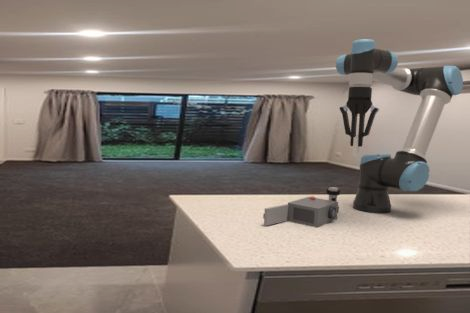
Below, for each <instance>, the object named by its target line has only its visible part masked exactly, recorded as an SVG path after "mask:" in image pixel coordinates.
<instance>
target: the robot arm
mask: <svg viewBox="0 0 470 313" xmlns="http://www.w3.org/2000/svg"><path fill="white" fill-rule="evenodd" d="M398 64H399V57H398V55H397V54H396V53H394V52H392V51H390V50H387V49H381V48H380V49H379V48H376V41H375V40H374V39H371V38H369V39H367V38H363V39H362V38H361V39H360V38H359V39H357V40H353V42H352V44H351V51H350V53H346V54H343V55H342V54H341V55H340V56H339V57H338V58H337V59H336V62H335V69H336V72H337V73H338V74H339V75H343V76H348V75H349V79H348V80H349V81H348V85H349V86H350V87H349V88H348V95H347V96H348V97H347V101H346V104H345V105H343V106H340V107H339V110H340V111H339V112H341V114H342V120H343V122H342V123H343V127H344V133H345V135H348V136H349V137H350V144H349V145H350V147H352V157H359V156H360V155H359V154H360V147H363V144H364V143H363V142H364V137H366V136H367V137H368V136H369V135H370V132H371V129H372V126H373V122H374V120H375V118H376V115H377V113H378V112H379V107H375V106H374V105H373V101H372V93H373V88H372V86H373V82H377V83H381V84H383V85H388V86H391V87H392V88H393V89H394V90H395V91H399V92H402V93H406V94H409V95H413V96H420V98H421V101H420V103H419V106H418V109H417V111H416V114H415V115H414V118H413V121H412V123H411V126H410V129H409V131H408V134H407V136H406V138H405V141H404V144H403V145H402V148H401V149H400V150H399V149H398V150H397V151H395V152H396V153H395V155H394V157H392V156H391V153H383V154H380V153H378V154H377V153H376V154H364V155H362V156H361V157H360V163H359V177H358V189H357V192H356V194H355V196H354V200H353V202H352V208H354V209H355V210H358V211H362V212H367V213H375V214H379V213H380V214H381V213H383V214H384V213H390V212H391V211H392V204H391V199H390V195H389V188H392V189H397V190H401V191H404V192H407V191H408V192H418V191H420V190H421V189H423V188H424V187H425V185H426V184H427V183H428V180H429V178H430V173H429V172H430V166H429V165H428V160H427V158H426V153H427V152H428V149H429V146H430V144H431V141H432V138H433V136H434V134H435V130H436V129H437V128H436V127H437V125H438V124H439V123H438V122H439V120H440V118H441V115H442V113H443V110H444V108H445V105H447V104H450V102H451V100H452V98H453V96H457V95H460V94H461V93H462V90H463V86H464V78H463V74H462V71H461V70H460V68H459V67H457V66H455V65H443V66H440V65H439V66H429V67H427V66H426V67H416V68H407V67H398ZM369 110H370V113H369V117H368V120H367V123H366V125H365V120H366V119H365V118H366V114H367V112H369ZM348 111H350V114H351V126H350V120H349V114H348ZM358 116H359V119H358ZM358 120H359V121H358ZM357 121H358V122H357ZM357 123H358V133H357Z"/></svg>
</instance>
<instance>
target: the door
mask: <svg viewBox="0 0 470 313" xmlns="http://www.w3.org/2000/svg"><path fill="white" fill-rule="evenodd" d="M262 218H263V225H264V226H266V227H267V226H270V225H274V224H279V223H283V222H288V221H287V220H288V203H287V204H286V203H285V204H281V205H276V206H275V205H274V206H270V207H266V208H264V213H263V216H262Z"/></svg>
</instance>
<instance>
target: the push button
mask: <svg viewBox="0 0 470 313" xmlns="http://www.w3.org/2000/svg"><path fill="white" fill-rule="evenodd" d="M340 193H341V190H339V187H336V186H329V187H328V189H326V194H327V195H328V200H331V201H336V202H338V196H339V195H340ZM339 208H340V207H339V205H338V212H339Z"/></svg>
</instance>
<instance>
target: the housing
mask: <svg viewBox="0 0 470 313" xmlns="http://www.w3.org/2000/svg"><path fill="white" fill-rule="evenodd" d="M287 204H288V220H287V221H286V222H290V223H296V224H300V225H304V224H305V225H304V226H310V227H313V226H314V228H319V227H322V226H324V225H326V224H329V223H332V222H334V221H336V220H338V214H339V211H338V206H339V201H337V202H336V201H331V200H329V199H324V198H318V197H315V196H313V195H311V196H306V197H304V198H301V199H300V198H299V199H296V200H293V201H290V202H287Z"/></svg>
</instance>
